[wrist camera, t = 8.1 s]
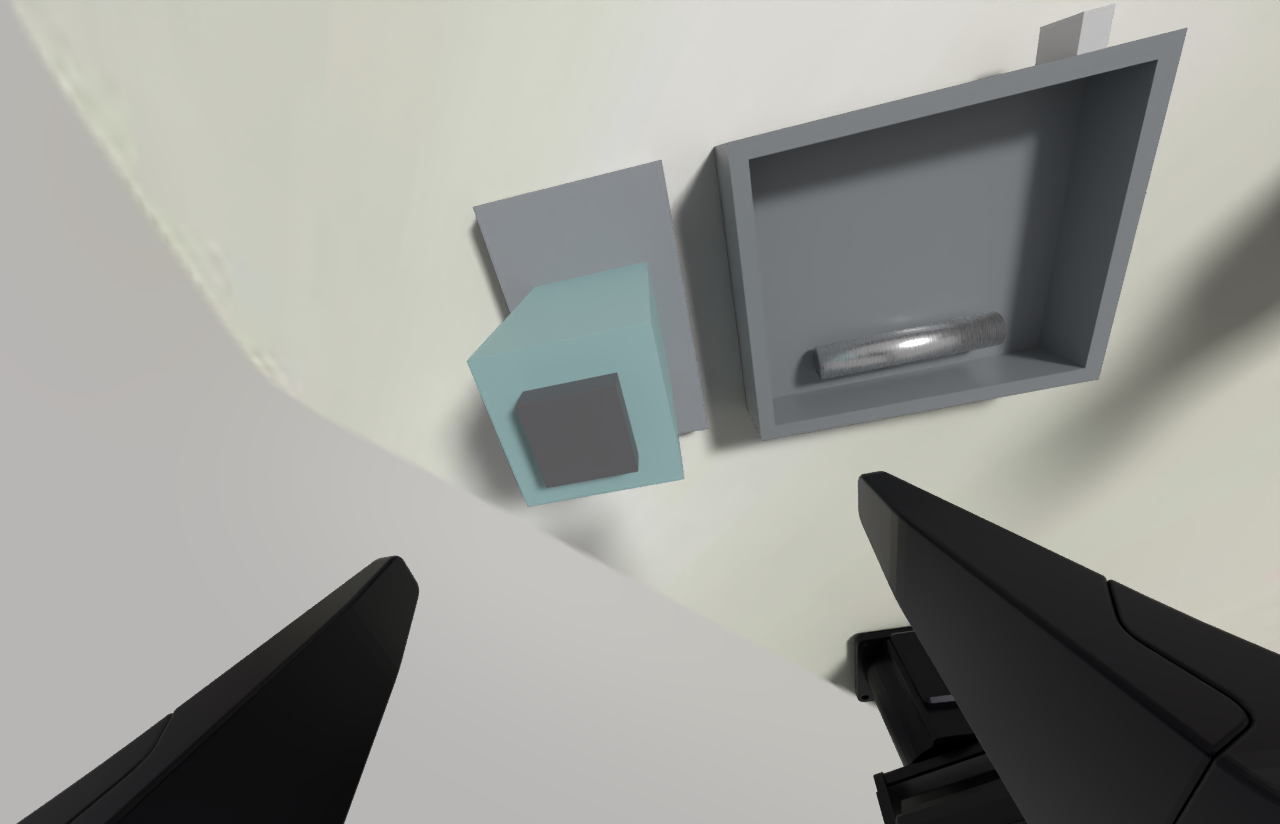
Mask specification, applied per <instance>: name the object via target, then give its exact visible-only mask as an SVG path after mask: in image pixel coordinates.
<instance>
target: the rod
mask: <svg viewBox="0 0 1280 824" xmlns="http://www.w3.org/2000/svg"><path fill="white" fill-rule="evenodd" d="M1005 337H1006V324H1005V321H1004V319H1003V317H1002V316H1001V315H1000V314H999V313H998V312H995V311H991V312H986V313H981V314H976V315H971V316H966V317H961V318H956V319H951V320H946V321H941V322H936V323H931V324H926V325H921V326H916V327H912V328H907V329H902V330H897V331H892V332H887V333H882V334H877V335H872V336H867V337H862V338H857V339H852V340H847V341H842V342H837V343H832V344H827V345H822V346H817V347H815V348H814V352H813V357H814V365H815V369H816V372H817V375H818V377H819V378H820V379H827V378H832V377H837V376H842V375H848V374H853V373H858V372H863V371H868V370H873V369H878V368H884V367H889V366H894V365H899V364H904V363H909V362H915V361H920V360H925V359H930V358H935V357H940V356H945V355H951V354H956V353H961V352H966V351H971V350H976V349H982V348H987V347H992V346H997V345H1000V344H1001V343H1002V342H1003V341H1004V339H1005Z"/></svg>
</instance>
